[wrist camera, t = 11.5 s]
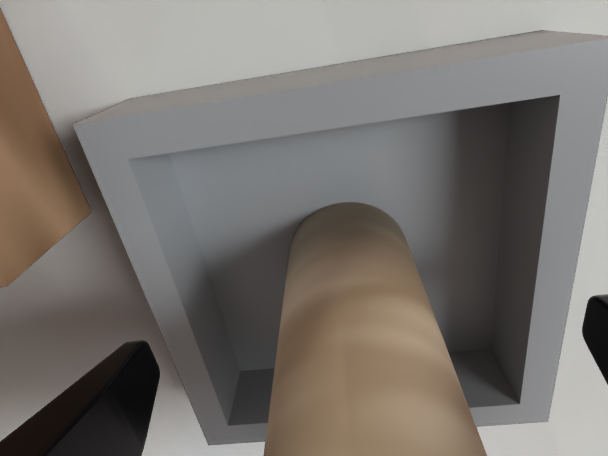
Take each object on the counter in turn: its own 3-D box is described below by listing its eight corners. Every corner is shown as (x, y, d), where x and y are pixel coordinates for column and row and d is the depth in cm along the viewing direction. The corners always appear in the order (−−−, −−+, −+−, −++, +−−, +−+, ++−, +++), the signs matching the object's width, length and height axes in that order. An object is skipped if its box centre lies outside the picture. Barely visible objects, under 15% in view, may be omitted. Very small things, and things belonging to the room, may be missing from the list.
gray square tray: (508, 351, 13) (548, 421, 11) (226, 375, 14) (208, 445, 12) (541, 30, 9) (618, 37, 7) (129, 98, 10) (72, 124, 8)
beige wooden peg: (404, 194, 10) (533, 476, 4) (409, 295, 12) (509, 615, 6) (279, 210, 11) (223, 494, 4) (299, 307, 12) (278, 620, 6)
